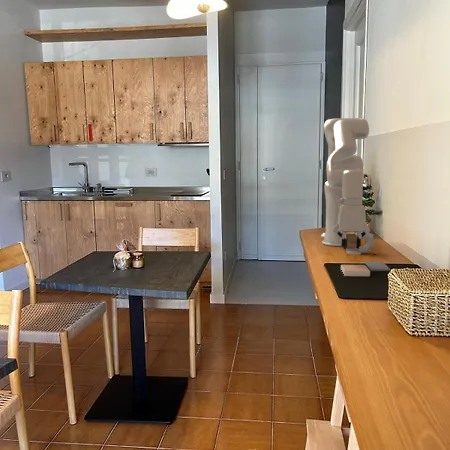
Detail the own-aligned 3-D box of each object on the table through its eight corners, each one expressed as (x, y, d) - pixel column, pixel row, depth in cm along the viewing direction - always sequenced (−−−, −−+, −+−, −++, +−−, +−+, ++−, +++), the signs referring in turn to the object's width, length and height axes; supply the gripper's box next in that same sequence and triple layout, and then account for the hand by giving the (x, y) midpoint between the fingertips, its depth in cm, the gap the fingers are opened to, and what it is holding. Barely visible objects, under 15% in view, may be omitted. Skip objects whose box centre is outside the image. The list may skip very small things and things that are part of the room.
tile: (340, 264, 173) (344, 270, 164) (365, 264, 172) (370, 271, 163) (340, 270, 173) (344, 276, 164) (364, 270, 172) (369, 277, 163)
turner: (344, 248, 179) (344, 233, 178) (355, 248, 178) (356, 233, 177) (348, 254, 169) (348, 238, 168) (360, 254, 168) (361, 238, 167)
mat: (364, 263, 182) (364, 261, 182) (382, 263, 181) (382, 261, 181) (371, 270, 170) (371, 269, 170) (390, 271, 169) (390, 269, 169)
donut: (350, 253, 198) (351, 231, 197) (350, 252, 202) (350, 230, 200) (374, 254, 197) (375, 231, 195) (373, 252, 200) (374, 230, 198)
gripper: (330, 203, 171) (330, 250, 174) (376, 202, 169) (375, 250, 172) (328, 201, 178) (327, 246, 181) (372, 200, 176) (371, 246, 179)
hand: (350, 248), depth 176 cm, fingers closed on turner, 4 cm apart
